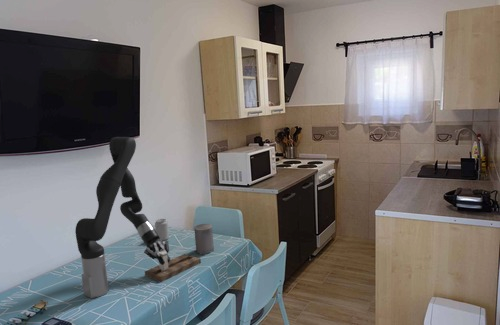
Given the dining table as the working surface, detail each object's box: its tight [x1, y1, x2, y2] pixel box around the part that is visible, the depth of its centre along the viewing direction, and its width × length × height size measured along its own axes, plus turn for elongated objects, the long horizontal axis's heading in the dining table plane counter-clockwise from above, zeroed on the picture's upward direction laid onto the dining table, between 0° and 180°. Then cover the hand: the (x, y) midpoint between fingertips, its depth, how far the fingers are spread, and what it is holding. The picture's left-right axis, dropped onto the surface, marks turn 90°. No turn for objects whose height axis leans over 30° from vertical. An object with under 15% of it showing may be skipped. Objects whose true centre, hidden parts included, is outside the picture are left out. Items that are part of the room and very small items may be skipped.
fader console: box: [144, 253, 202, 283], centre depth 189 cm, size 25×12×2 cm, turn 141°
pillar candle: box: [193, 223, 215, 255], centre depth 210 cm, size 10×10×15 cm
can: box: [154, 218, 170, 241], centre depth 233 cm, size 8×8×12 cm
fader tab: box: [158, 251, 168, 272], centre depth 184 cm, size 2×4×9 cm
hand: (166, 262), depth 183 cm, fingers closed on fader tab, 2 cm apart
